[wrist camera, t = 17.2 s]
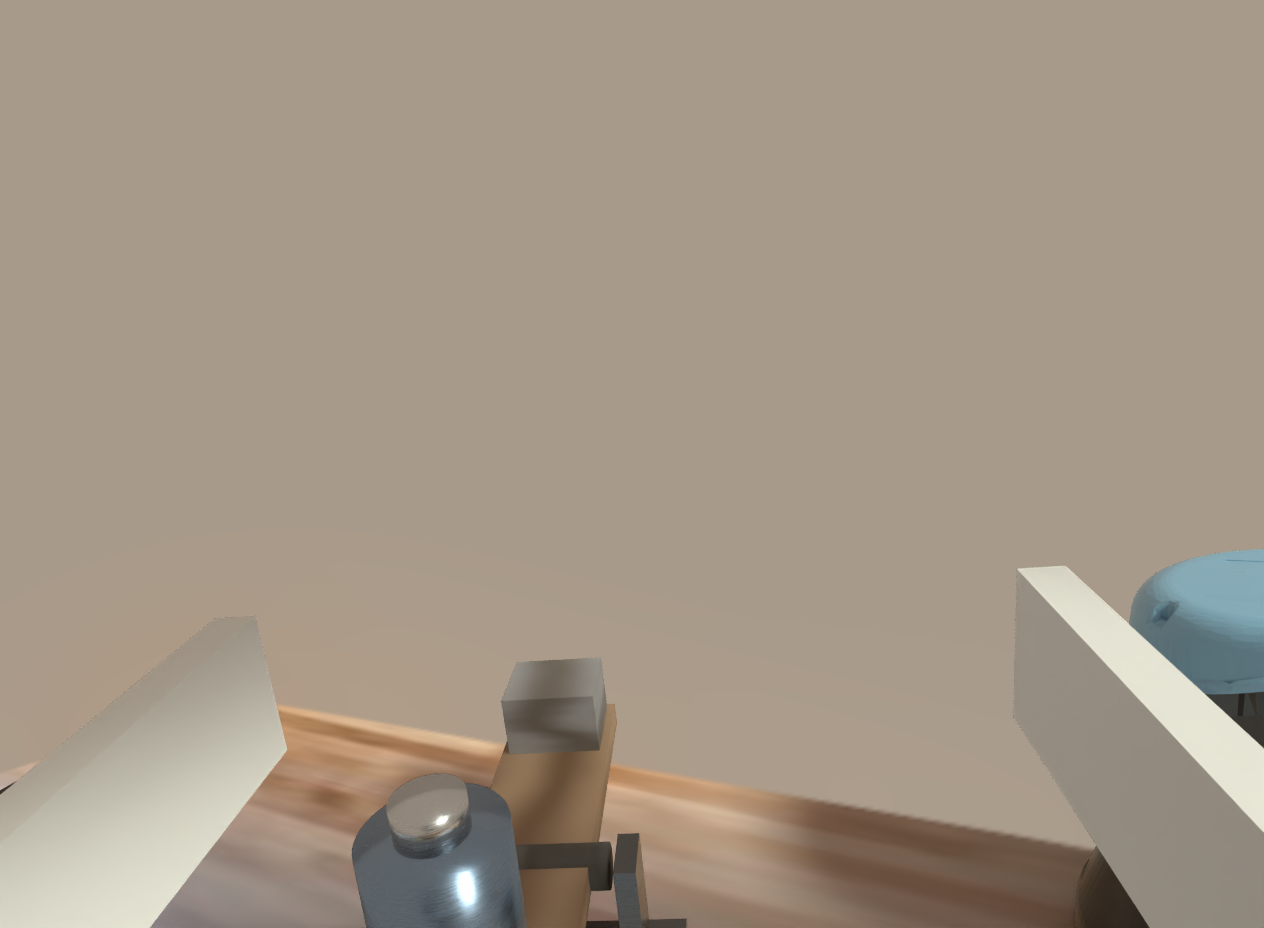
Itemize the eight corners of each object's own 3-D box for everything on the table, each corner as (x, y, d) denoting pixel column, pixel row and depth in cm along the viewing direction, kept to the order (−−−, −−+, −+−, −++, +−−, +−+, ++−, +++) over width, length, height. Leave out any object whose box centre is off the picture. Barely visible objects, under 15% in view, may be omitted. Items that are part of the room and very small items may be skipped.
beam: (631, 727, 61) (623, 652, 59) (575, 1181, 32) (556, 1060, 31) (508, 732, 62) (497, 659, 60) (348, 1179, 33) (317, 1062, 31)
